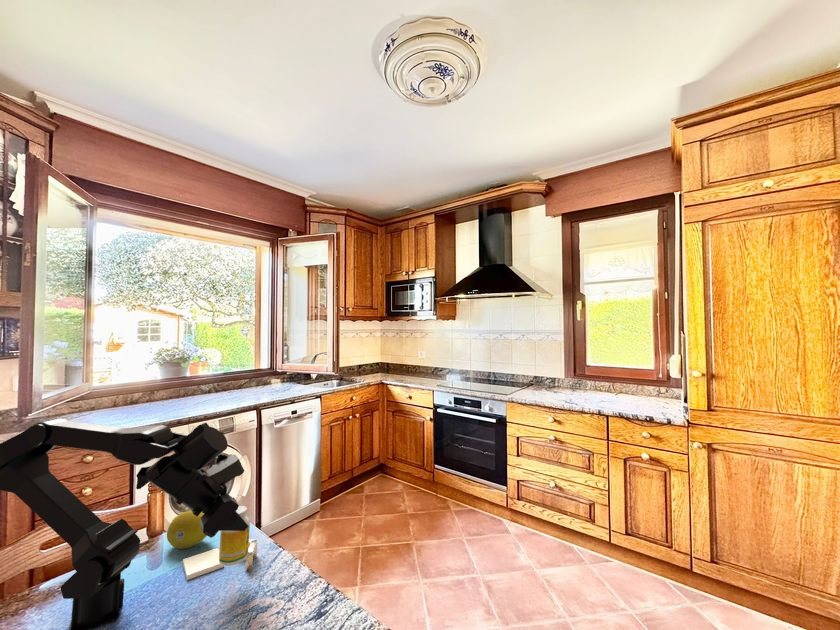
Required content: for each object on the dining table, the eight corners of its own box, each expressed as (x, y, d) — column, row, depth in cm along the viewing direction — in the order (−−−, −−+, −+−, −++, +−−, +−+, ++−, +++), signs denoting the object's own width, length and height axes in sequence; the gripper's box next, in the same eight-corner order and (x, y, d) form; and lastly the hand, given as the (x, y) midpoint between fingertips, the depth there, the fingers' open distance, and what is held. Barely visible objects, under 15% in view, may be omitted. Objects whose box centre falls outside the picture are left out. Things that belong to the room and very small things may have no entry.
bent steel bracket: (241, 574, 75) (241, 556, 75) (231, 554, 82) (232, 538, 82) (262, 565, 78) (263, 549, 78) (251, 547, 85) (252, 532, 85)
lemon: (155, 552, 82) (158, 517, 83) (183, 535, 90) (185, 503, 91) (194, 558, 80) (196, 522, 81) (219, 539, 88) (221, 507, 89)
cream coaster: (186, 580, 73) (186, 575, 73) (182, 564, 78) (183, 559, 78) (224, 566, 77) (224, 562, 77) (217, 552, 83) (218, 547, 83)
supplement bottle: (216, 557, 72) (219, 509, 73) (244, 547, 75) (247, 501, 76) (221, 570, 68) (224, 519, 68) (251, 559, 71) (253, 511, 72)
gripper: (228, 457, 64) (286, 502, 70) (210, 436, 78) (260, 475, 84) (173, 515, 58) (242, 558, 64) (164, 480, 72) (221, 519, 78)
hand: (242, 522), depth 73 cm, fingers closed on supplement bottle, 5 cm apart
